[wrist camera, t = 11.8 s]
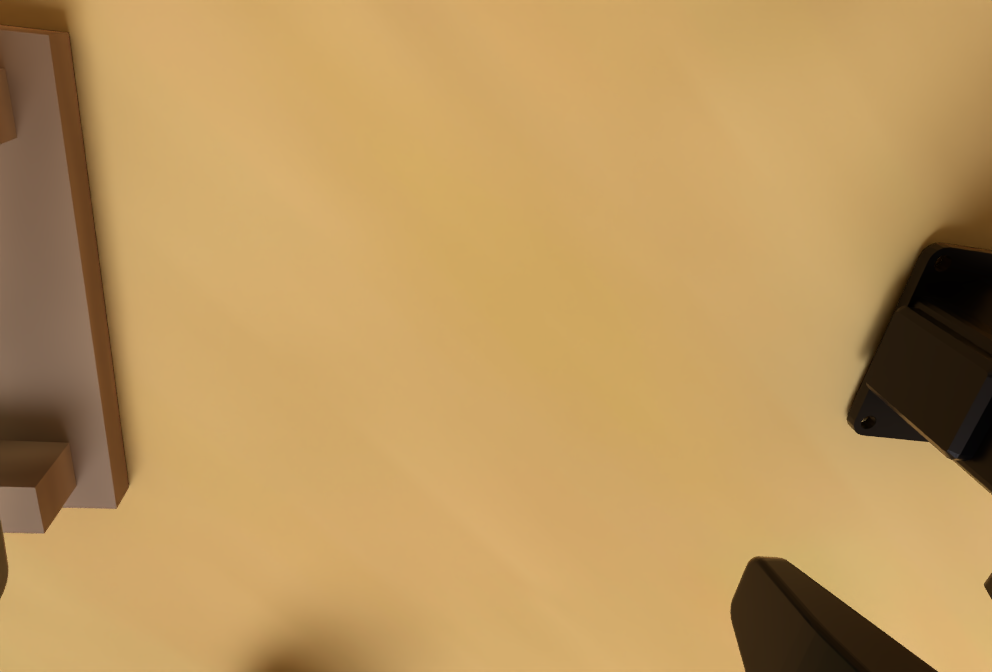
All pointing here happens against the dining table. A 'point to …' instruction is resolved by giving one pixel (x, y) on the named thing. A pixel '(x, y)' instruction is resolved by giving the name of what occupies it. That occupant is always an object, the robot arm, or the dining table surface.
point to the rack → (50, 299)
